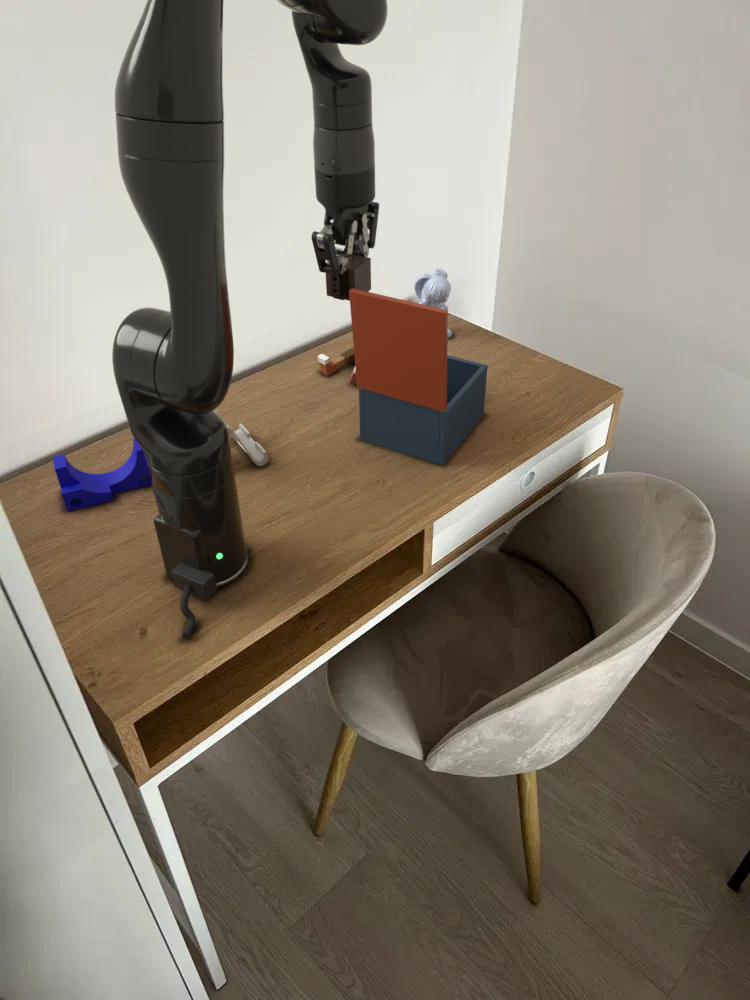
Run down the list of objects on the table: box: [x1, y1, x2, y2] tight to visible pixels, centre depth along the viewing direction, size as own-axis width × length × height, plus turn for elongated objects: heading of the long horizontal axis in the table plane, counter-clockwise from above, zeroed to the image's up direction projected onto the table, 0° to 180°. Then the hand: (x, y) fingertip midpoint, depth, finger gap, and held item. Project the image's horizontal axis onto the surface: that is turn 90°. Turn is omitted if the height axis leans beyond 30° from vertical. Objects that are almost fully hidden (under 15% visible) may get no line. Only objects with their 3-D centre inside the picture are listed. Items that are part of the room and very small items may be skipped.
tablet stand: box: [213, 409, 269, 467], centre depth 115 cm, size 9×8×8 cm
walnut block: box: [325, 254, 372, 302], centre depth 110 cm, size 4×4×4 cm
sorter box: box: [358, 354, 489, 466], centre depth 120 cm, size 15×14×9 cm
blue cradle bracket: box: [52, 438, 152, 512], centre depth 110 cm, size 12×4×6 cm, turn 112°
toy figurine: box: [413, 268, 453, 339], centre depth 141 cm, size 7×6×12 cm
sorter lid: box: [349, 288, 449, 412], centre depth 107 cm, size 15×14×1 cm
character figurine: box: [316, 346, 357, 385], centre depth 138 cm, size 12×5×18 cm
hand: (349, 290), depth 111 cm, fingers closed on walnut block, 4 cm apart
